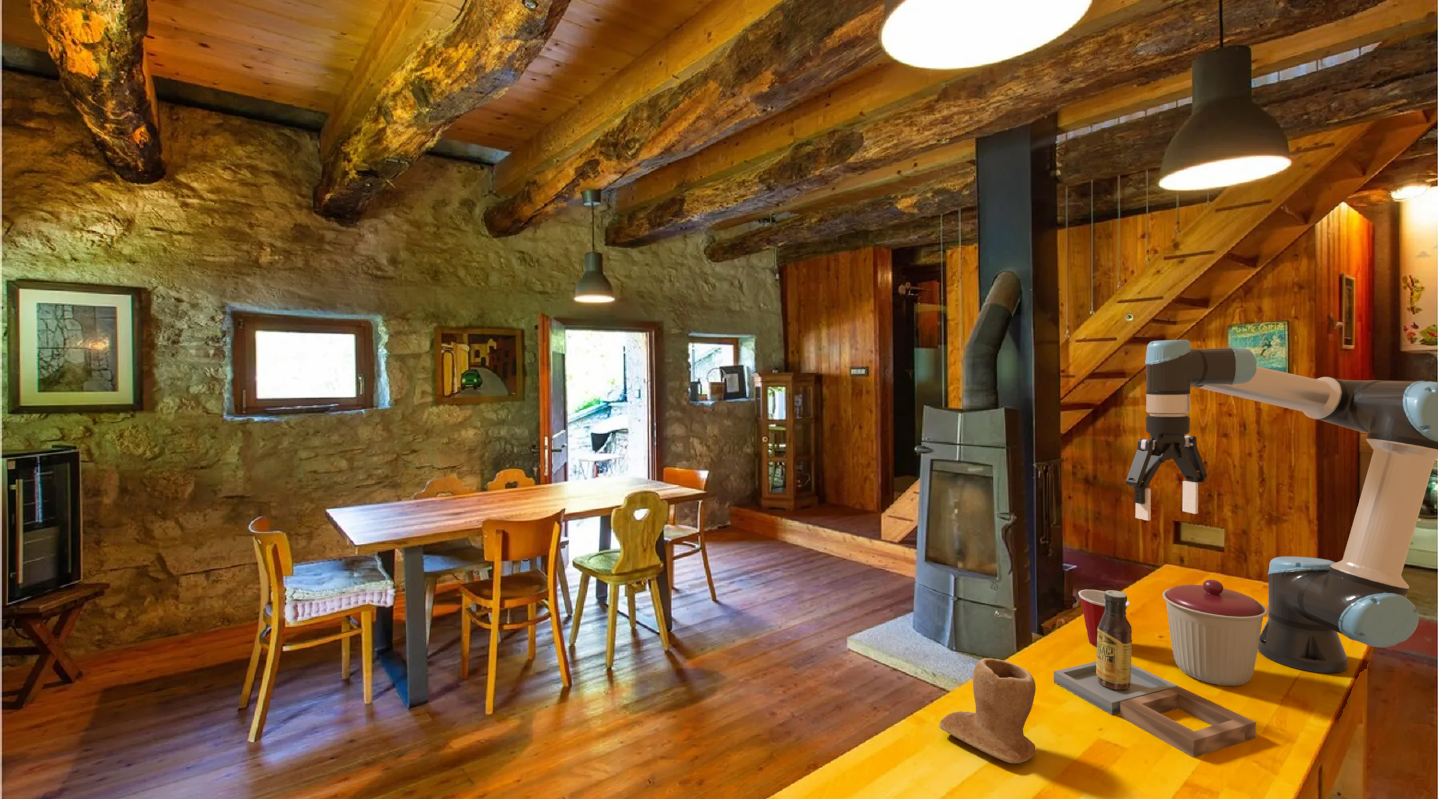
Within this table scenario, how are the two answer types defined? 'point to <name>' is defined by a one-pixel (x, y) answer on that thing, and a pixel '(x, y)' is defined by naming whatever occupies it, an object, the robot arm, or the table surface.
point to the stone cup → (997, 711)
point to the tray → (1089, 689)
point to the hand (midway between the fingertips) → (1166, 515)
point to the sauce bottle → (1114, 643)
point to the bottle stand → (1194, 743)
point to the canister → (1214, 632)
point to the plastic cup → (1093, 611)
